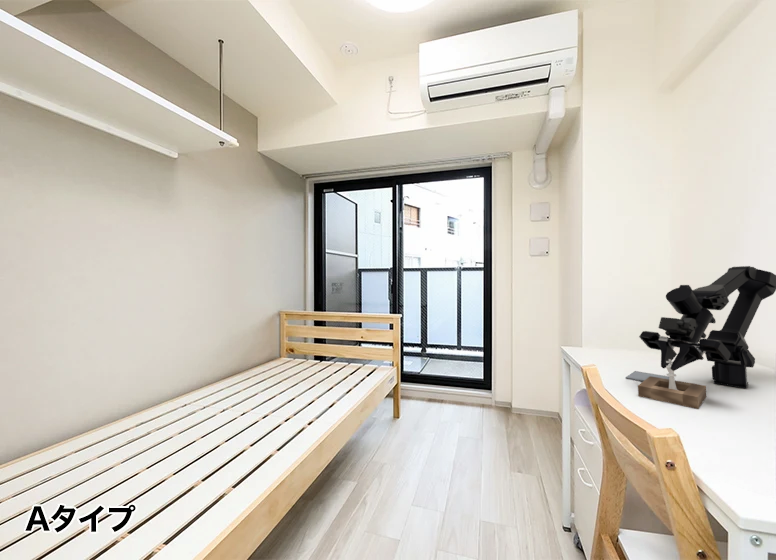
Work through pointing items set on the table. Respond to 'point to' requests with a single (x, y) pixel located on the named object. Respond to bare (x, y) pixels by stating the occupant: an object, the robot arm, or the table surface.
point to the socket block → (673, 392)
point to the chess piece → (671, 376)
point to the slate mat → (643, 376)
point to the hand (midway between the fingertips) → (667, 368)
